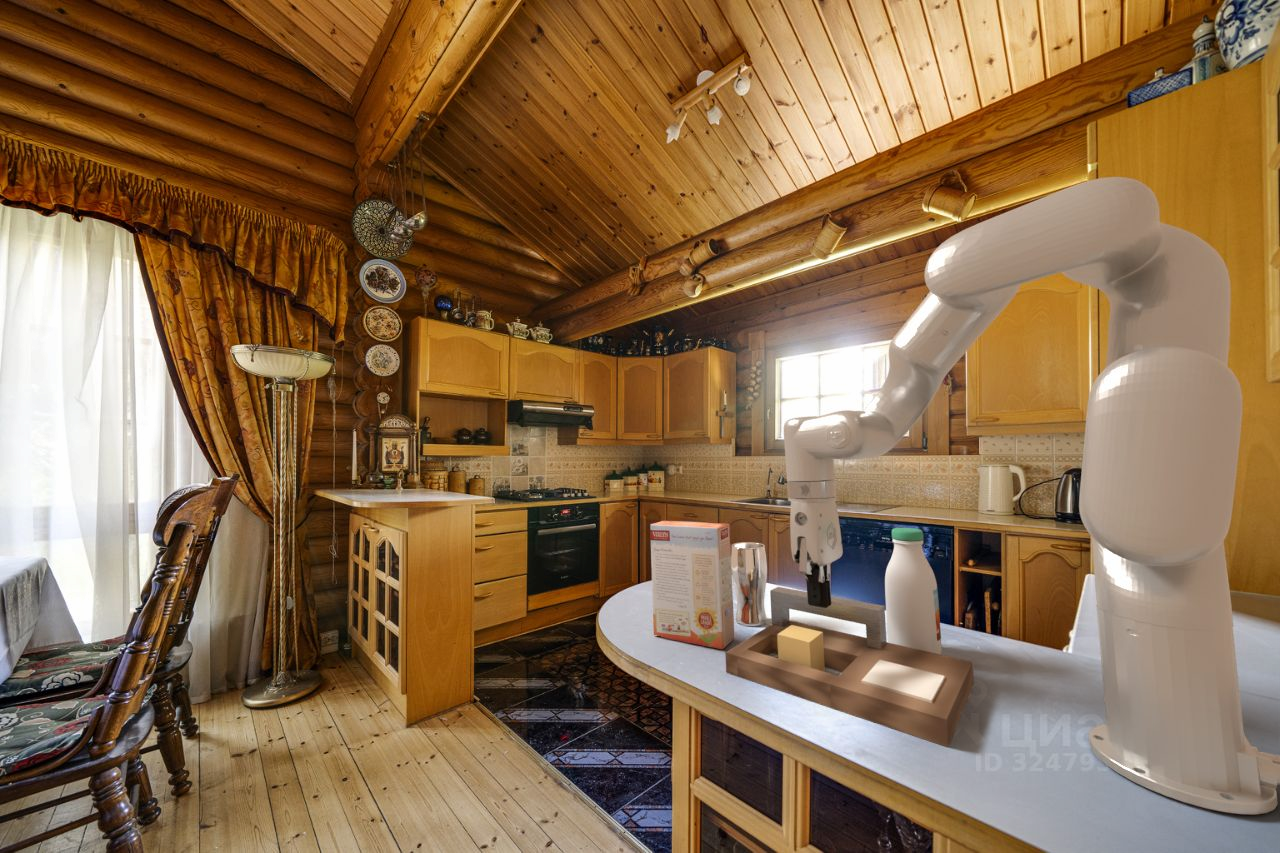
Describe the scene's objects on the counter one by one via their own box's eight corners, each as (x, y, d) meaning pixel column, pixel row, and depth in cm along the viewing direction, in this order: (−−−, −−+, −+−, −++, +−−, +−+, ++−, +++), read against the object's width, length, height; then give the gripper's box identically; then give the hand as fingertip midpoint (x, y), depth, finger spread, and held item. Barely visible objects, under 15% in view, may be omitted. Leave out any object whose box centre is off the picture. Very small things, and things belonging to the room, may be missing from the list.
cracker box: (735, 639, 85) (731, 522, 86) (722, 651, 80) (718, 527, 81) (668, 626, 93) (664, 518, 94) (652, 636, 88) (649, 523, 89)
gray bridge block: (886, 643, 74) (884, 605, 74) (881, 649, 72) (878, 610, 72) (779, 619, 86) (777, 586, 86) (771, 623, 84) (770, 590, 84)
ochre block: (824, 672, 72) (822, 632, 72) (811, 684, 68) (809, 642, 68) (793, 663, 75) (791, 624, 75) (779, 674, 71) (777, 634, 72)
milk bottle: (932, 665, 73) (924, 534, 74) (880, 651, 78) (873, 529, 80) (948, 651, 78) (940, 528, 79) (898, 638, 84) (891, 524, 85)
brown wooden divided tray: (974, 683, 67) (972, 659, 67) (948, 747, 53) (946, 716, 53) (782, 635, 86) (781, 616, 87) (726, 672, 72) (725, 650, 73)
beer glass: (770, 628, 90) (767, 548, 91) (733, 626, 91) (730, 548, 92) (768, 616, 97) (764, 542, 98) (733, 614, 98) (730, 541, 99)
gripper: (815, 495, 70) (825, 622, 68) (850, 488, 81) (859, 598, 79) (769, 495, 75) (776, 613, 73) (808, 488, 86) (815, 591, 84)
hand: (819, 605), depth 76 cm, fingers closed
